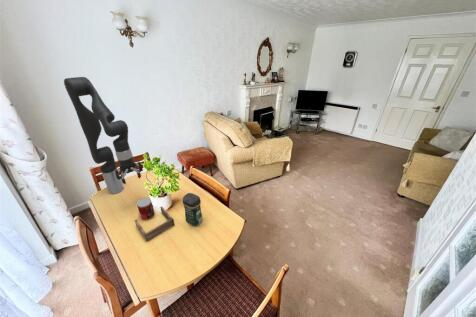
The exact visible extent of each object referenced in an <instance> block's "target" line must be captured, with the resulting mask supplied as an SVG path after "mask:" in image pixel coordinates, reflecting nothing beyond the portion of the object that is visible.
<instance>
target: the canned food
mask: <svg viewBox="0 0 476 317" xmlns="http://www.w3.org/2000/svg"><path fill="white" fill-rule="evenodd" d="M136 206H137V210H138V213H139V216H140V218H141V219H142V220H143V221H149V220H151V219H153V218H154V217H155V210H154V207H153V201H152V199H151V198H150V197H142V198H140V199H138V200H137V202H136Z"/></svg>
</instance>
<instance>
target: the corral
mask: <svg viewBox="0 0 476 317" xmlns="http://www.w3.org/2000/svg"><path fill="white" fill-rule="evenodd" d="M160 211H161V214H162V216H164V218H165V219H166V220H167V221H165V222H163V223H161V224H159V225H157V226H156V227H154V228H153V229H150V230H149V231H147V232H146V231H145V229H143V226H141V225H142V224H140V223H139V221H138V219H135V220H134V222H135V226H136V227H137V229H138V231H139V232H140V234H141V235H142V236H143V239H144V240H145V242H146V243H147V242H149V241H151V240H153V239H154V238H156V237H158V236H159V235H161V234H162V233H164V232H165V231H168V230H169V229H171V228H172V227H175V221H174V218H173V217H172V216H171V215H170V213H169V212H168V211H167V210H166V209H165V208H164V207H163V206H160Z"/></svg>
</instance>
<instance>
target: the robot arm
mask: <svg viewBox="0 0 476 317" xmlns="http://www.w3.org/2000/svg"><path fill="white" fill-rule="evenodd" d="M63 85H64V87H65V89H66V92H67V95H68V96H69V99H70V100H71V104H72V106H73V107H74V110H75V112H76V115H77V117H78V121H79V124H80V127H81V129H82V131H83V134H84V136H85V139H86V141H87V144H88V148H89V151H90V155H91V158H92V160H93V162H94V163H95V164H96V165H99V164H102V165H101V166H100V167H99V170H100V172H101V175H102V177H103V179H104V180H103V181H104V183H105V185H106V188H107V190H108V192H109V194H110V193H112V195H116V194H120V193H122V192H123V190H124V189H125V187H124V185H126V183H127V182H126V179H125V176H126V175H127V174H130V173H132V172H135V173H136V174H137V177H138V179H141V177H142V174H141V172H144V169H143V166H142V162H140V161H139V160H138V161H137V162H135V160H134V156H133V153H132V150H131V146H130V144H129V126H128V124H127V122H126V121H124V120H121V119H119V120H116V121H114V120H115V117H116V116H115V115H114V113H113V112H112V111H111V110H110V109H109V108H108V106H107V105H106V103H104V101H103V99H102V98H101V96H100V94H99V92H98V91H97V89H96V88H95V87H94V84H93V83H92V82H91V81H90V80H89V78H87V77H85V76H76V77H68V78H67V77H66V78H64V80H63ZM83 96H90V97H91V109H89V108H88V107H87V106H85V105H84V103H83V102H82V101H81V98H80V97H83ZM91 110H92V111H91ZM102 128H103V130H104V133H105V135H107V136H108V137H110V138H113V137H117V138H115V139H114V140H113V141H112V144H113V145H112V146H113V149H114V151H115V155H114V152H113V150H112V149H111V148H110V147H109V146H107V145H106V146H105V145H104V146H102V147H99V148H98V141H99V138H100V136H101V133H102ZM114 156H116V159H117V162H118V165H119V168H118V166H117V164H116V160H115V157H114ZM136 167H138V168H136ZM120 171H121V173H120ZM123 184H124V185H123ZM115 193H116V194H115Z"/></svg>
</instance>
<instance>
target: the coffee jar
mask: <svg viewBox="0 0 476 317" xmlns="http://www.w3.org/2000/svg"><path fill="white" fill-rule="evenodd" d="M201 203H202V200H201V197H200V196H199V195H197V194H195V193H192V192H191V193H190V192H188V193H186V194H185V195H184V196H183V197H182V205H183V207H184V216H185V221H186V223H187V224H188V225H190V226H193V227H197V226H199V225H201V224H202V222H203V220H204V218H203V214H202V210H201Z"/></svg>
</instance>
